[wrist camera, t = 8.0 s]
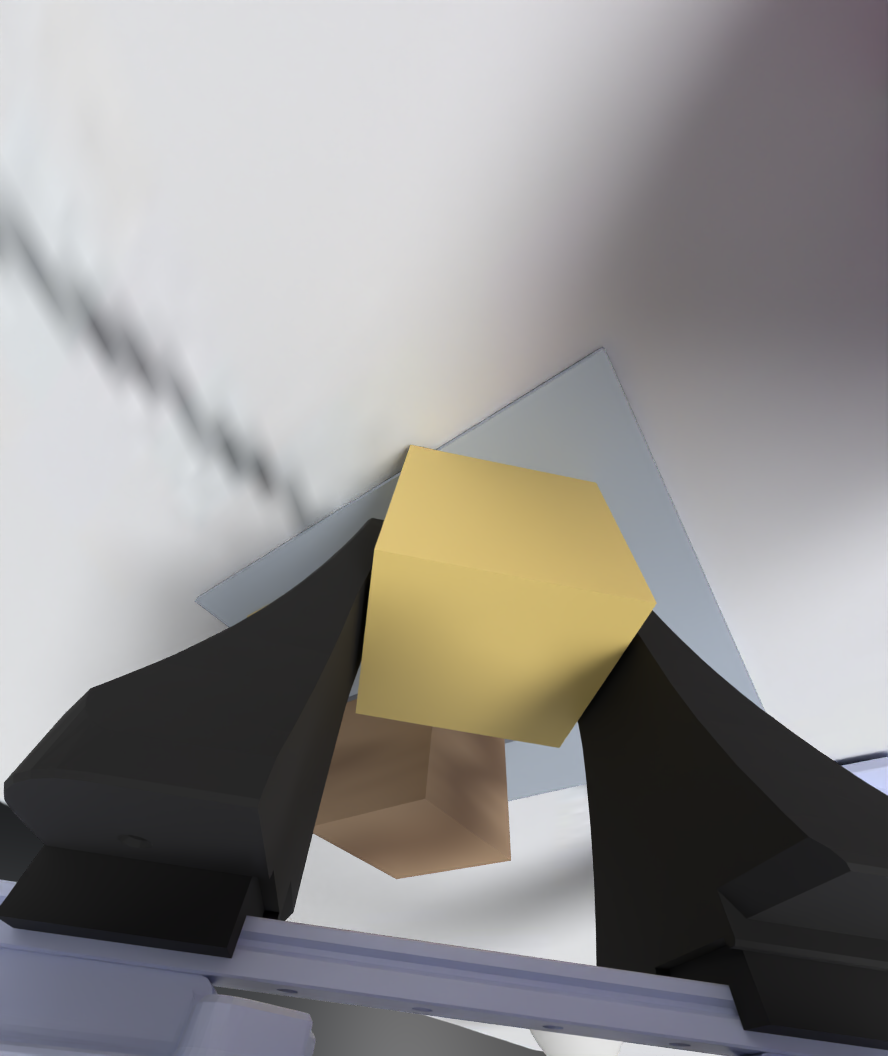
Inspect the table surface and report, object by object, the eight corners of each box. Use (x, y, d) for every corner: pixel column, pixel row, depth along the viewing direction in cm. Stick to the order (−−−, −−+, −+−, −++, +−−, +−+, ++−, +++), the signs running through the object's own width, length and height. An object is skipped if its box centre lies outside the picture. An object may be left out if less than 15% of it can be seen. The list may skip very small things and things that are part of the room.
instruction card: (775, 736, 17) (779, 742, 17) (468, 805, 22) (468, 811, 22) (602, 347, 9) (605, 349, 9) (197, 596, 15) (193, 602, 14)
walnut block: (504, 732, 18) (510, 860, 14) (411, 759, 20) (396, 878, 16) (437, 667, 16) (425, 798, 12) (341, 704, 17) (304, 828, 14)
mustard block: (596, 482, 11) (656, 603, 7) (537, 612, 14) (559, 748, 10) (410, 444, 11) (374, 549, 7) (389, 585, 14) (355, 712, 10)
